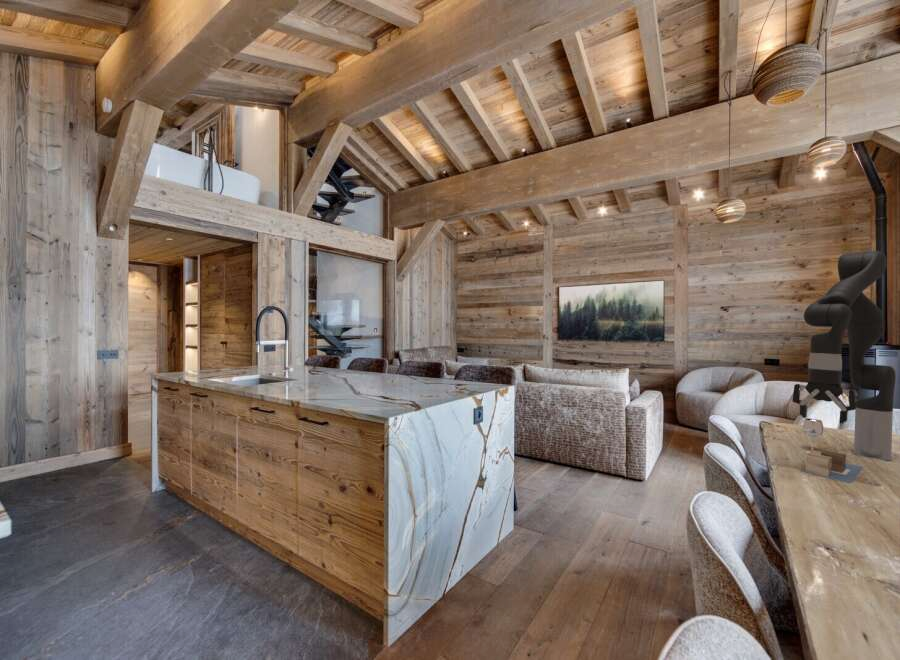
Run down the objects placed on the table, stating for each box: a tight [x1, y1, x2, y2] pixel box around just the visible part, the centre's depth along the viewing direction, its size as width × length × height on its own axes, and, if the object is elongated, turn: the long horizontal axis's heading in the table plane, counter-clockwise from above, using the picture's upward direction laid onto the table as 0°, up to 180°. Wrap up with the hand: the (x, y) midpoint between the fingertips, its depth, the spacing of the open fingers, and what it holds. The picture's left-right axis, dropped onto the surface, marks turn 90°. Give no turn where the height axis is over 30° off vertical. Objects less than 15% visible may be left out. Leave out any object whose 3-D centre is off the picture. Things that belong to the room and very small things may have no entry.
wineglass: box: [802, 417, 825, 451], centre depth 146 cm, size 6×6×12 cm
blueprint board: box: [800, 463, 864, 484], centre depth 125 cm, size 23×11×1 cm, turn 127°
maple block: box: [805, 452, 832, 478], centre depth 122 cm, size 5×5×5 cm
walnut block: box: [820, 449, 847, 473], centre depth 125 cm, size 5×5×5 cm
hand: (822, 420), depth 122 cm, fingers open, 8 cm apart
